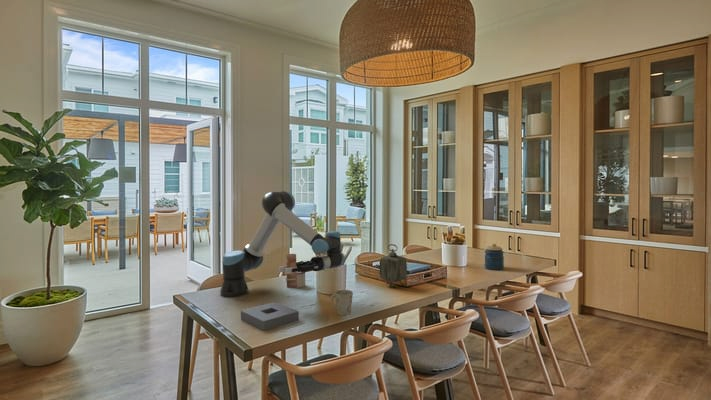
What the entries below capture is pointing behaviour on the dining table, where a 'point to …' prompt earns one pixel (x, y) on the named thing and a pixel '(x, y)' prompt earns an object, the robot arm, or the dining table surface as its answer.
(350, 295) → the mug
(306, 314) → the dining table surface
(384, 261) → the tabletop clock
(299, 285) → the teacup with lid
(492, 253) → the canister
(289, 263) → the peg
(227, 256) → the robot arm
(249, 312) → the board
